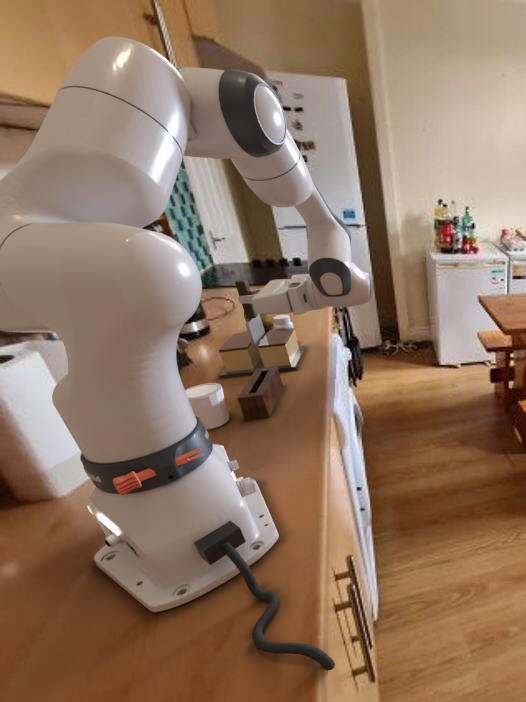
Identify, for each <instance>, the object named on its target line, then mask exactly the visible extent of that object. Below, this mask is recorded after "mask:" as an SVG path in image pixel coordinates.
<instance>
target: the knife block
mask: <svg viewBox="0 0 526 702" xmlns="http://www.w3.org/2000/svg"><path fill="white" fill-rule="evenodd" d="M280 373H281V372H280V371H279V370H278V367H271V368H263V369H256V370H255V372H254V373H253V375H250V377H249V379H248V380H247V382H246V384H245V386H244V387H243V389H242V390H241V391H240V393H239V395H238V396H237V398H236V399H237V403H238V405H239V407H240V410H241V413H242V416H243V418H244V421H251V420H256V419H265V418H269V417H270V416H271V415H272V412H273V411H274V409H275V405H276V403H277V402H278V399H279V397H280V396H281V393H282V390H283V388H284V384H283V381H282V377H281V374H280Z"/></svg>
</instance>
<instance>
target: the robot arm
mask: <svg viewBox="0 0 526 702" xmlns="http://www.w3.org/2000/svg"><path fill="white" fill-rule="evenodd" d="M184 157H192V158H204V159H213V160H228V159H230V160H231V162H232V164H233V165H234V166H235V168H236V170H237V171H238V173H239V175H240V176H241V177H242V179H243V180H244V182H245V183H246V184H247V187H248V188H249V189H250V190H251V191H252V192H253V193H254V194H255V195H256V196H257V198H258V199H259V200H261V202H262V203H264V204H266V205H269V206H272V207H275V208H292V207H294V208H295V209H296V210H297V212H298V213H299V215H300V216H301V218H302V219H303V221H304V222H305V227H306V229H305V231H306V232H305V233H306V240H307V241H306V242H307V272H308V273H300V274H299V273H298V274H293V275H291V278H281V279H280V278H277V279H271V280H269V282H268V283H266V284H265V285H264V286H263V287H260V288H256V289H252V290H250V291H251V294H252V295H240V296H239V295H238V297H237V299H238V301H239V304H240V305H242V304H247V303H248V304H253V307H254V310H255V312H256V313H258V314H271V315H287V314H291V313H292V314H293V315H294V316H295V315H296V316H299V315H303V314H305V313H307V312H311V311H312V312H313V311H318V310H324V309H326V308H337V309H339V308H341V309H342V308H349V307H355V306H356V307H357V306H361V305H364V304H367V303H369V302H370V300H371V298H372V281H371V276H370V274H369V273H368V272H365V271H363V270H362V269H360V268H359V267H358V266H357V265H356V264H355V262H354V261H353V259H352V258H353V257H352V248H351V247H352V233H351V230H350V229H349V227H348V226H347V224H346V223H344V222H343V221H342V220H341V218H339V216H337V215H336V214H335V213H334V212H333V211H332V210H331V208H330V207H329V205H328V203H327V202H326V200H325V198H324V196H323V195H322V194H321V192H320V190H319V188H318V186H317V185H316V183H315V181H314V179H313V178H312V176H311V173H310V171H309V168H308V166H307V164H306V162H305V159H304V157H303V155H302V153H301V151H300V150H299V148H298V146H297V144H296V142H295V140H294V138H293V137H292V135H291V133H290V132H289V130H288V125H287V119H286V114H285V111H284V108H283V105H282V102H281V101H280V99H279V97H278V95H277V94H276V92H275V91H274V89H273V88H272V87H271V86H270V85H268V83H267V82H265V81H264V80H263V79H262V78H261V77H260V76H259V75H257V74H255V73H252V72H250V71H245V70H242V69H236V68H227V69H225V70H223V69H217V68H216V69H215V68H208V67H190V66H184V65H183V66H174V65H173V64H172V62H170V61H169V60H168V59H167V58H166V57H165V56H164V55H162V54H161V53H159V52H158V51H156V50H155V49H154V48H152V47H150V46H149V45H146V44H145V43H143V42H140V41H138V40H135V39H132V38H129V37H124V36H107V37H106V36H105V37H102V38H100V39H99V40H97V41H95V42H94V43H93V44H92V45H91V46H90V47H89V48H87V49H86V50H85V52H83V54H82V55H81V56H80V57H78V59H77V61H76V62H75V63H74V64H73V65H72V67H71V68H70V70H69V71H68V73H67V74H66V76H65V77H64V79H63V80H62V82H61V84H60V86H59V88H58V90H57V92H56V94H55V96H54V99H53V101H52V103H51V105H50V107H49V109H48V111H47V112H46V115H45V116H44V119H43V121H42V123H41V125H40V127H39V129H38V130H37V133H36V135H35V137H34V139H33V141H32V143H31V145H30V146H29V147H28V149H27V151H26V152H25V153H24V155H23V156H22V157H21V159H20V160H19V161H18V162H17V163H16V164H15V165H14V166H13V167H12V168H11V169H10V170H9V171H8V172H7V173H6V174H5V175H4V176H3V177H2V178H1V179H0V331H1V332H7V333H48V334H49V333H55V334H56V335H57V336H58V337H59V338H60V339H61V341H62V343H63V346H64V349H65V354H66V359H67V373H66V375H64V376H63V377H62V378H61V379H60V380H59V381H58V382H57V383H56V385H55V386H54V388H53V391H52V394H51V400H52V405H53V407H54V409H55V410H56V411H57V414H58V415H59V416H60V418H61V420H62V421H63V424H64V425H65V427H66V428H67V430H68V432H69V433H70V435H71V437H72V438H73V440H74V442H75V443H76V445H77V447H78V449H79V450H80V452H81V453H80V455H79V456H80V458H79V459H80V462H81V464H82V468H83V470H84V473H85V474H86V475H87V476H88V477H89V479H90V480H91V482H92V484H93V485H94V486H95V488H94V490H93V492H92V493H91V495H90V496H89V497H88V500H87V501H86V505H87V508H88V510H89V512H90V513H91V514H92V515H93V517H94V519H95V520H96V522H97V524H98V525H99V527H100V529H101V530H102V531H103V533H104V535H105V538H104V543H105V545H104V546H103V547H101V548H100V549H99V550H98V551H96V553H95V554H94V556H93V561H94V563H95V565H96V567H98V568H99V569H100V570H101V571H102V572H103V573H105V574H106V575H107V576H108V577H109V578H111V579H112V580H113V581H114V582H115V583H116V584H117V585H118V586H120V587H121V588H122V589H123V590H125V592H127V593H128V594H129V595H130V596H131V597H133V598H134V599H135V600H136V601H137V602H139V603H140V605H142V606H144V608H146V609H147V610H149V611H150V612H151V613H159V612H163V611H167V610H170V609H173V608H176V607H179V606H182V605H184V604H186V603H189V602H191V601H193V600H196V599H197V598H199V597H201V596H203V595H205V594H207V593H209V592H211V591H212V590H214V589H216V588H218V587H219V586H221V585H223V584H224V583H227V582H228V581H229V580H231V579H232V578H234V577H236V576H237V575H238V574H240V575H241V576H242V578H243V580H244V582H245V584H246V586H247V588H248V590H249V592H250V593H251V595H252V596H253V597H255V598H256V599H259V600H261V601H267V602H268V606H267V607H266V609H265V610H264V612H263V613H262V614H261V615H260V617H259V618H258V619H257V621H256V623H255V624H254V626H253V629H252V631H251V632H252V633H251V638H252V641H253V643H254V645H255V646H256V647H257V649H259V650H261V651H262V652H264V653H269V654H277V655H278V654H284V655H286V654H289V655H299V656H300V655H301V656H304V657H308V658H310V659H312V660H313V661H315V662H317V663H318V664H319V665H320V666H321V667H322V668H323V669H324V670H326V671H332V670H333V669H334V668H335V666H336V663H335V661H334V660H333V658H332V657H331V656H330V655H328V654H327V653H326V652H325V651H324V650H322V649H320V648H318V647H316V646H314V645H312V644H307V643H301V642H278V641H277V642H276V641H272V640H269V639H267V638H265V636H264V633H263V630H264V628H265V626H266V625H267V624H268V622H269V621H270V619H271V618H272V617H273V615H274V614H275V612H276V611H277V608H278V606H279V602H280V601H279V596H278V595H277V593H275V592H273V591H269V590H264V589H263V588H262V587H261V586H260V585H259V584H258V582H257V580H256V578H255V575H254V573H253V571H252V569H251V568H250V566H252V565H253V564H254V563H255V562H257V561H258V560H260V559H261V558H262V557H263V556H264V555H266V553H268V551H270V550H271V548H272V547H273V546H274V545H275V544H276V543H277V541H278V540H279V538H280V535H279V532H278V529H277V527H276V524H275V521H274V519H273V517H272V515H271V512H270V510H269V508H268V505H267V503H266V501H265V499H264V496H263V494H262V492H261V489H260V486H259V485H258V483H257V481H256V480H255V478H254V479H253V478H251V476H248V477H247V476H246V477H244V476H239V477H237V476H236V474H235V472H234V471H237V470H239V469H240V465H239V462H238V461H237V459H233V460H231V461H230V460H229V457H228V455H227V454H228V453H227V451H226V449H225V446H224V445H223V444H222V445H221V444H219V443H218V444H217V443H213V442H212V440H211V438H210V435H209V432H208V429H206V427H205V426H204V425H203V424H202V422H201V420H200V418H199V417H197V416H195V415H194V412H193V410H192V407H191V405H190V402H189V400H188V397H187V394H186V392H185V390H186V388H185V386H184V384H183V381H182V378H181V376H180V371H179V367H178V360H177V347H178V340H179V336H180V333H181V330H182V328H183V327H184V325H185V324H186V323H187V322H188V321H189V320H190V318H192V317H193V316H194V314H195V313H196V311H197V309H198V307H199V306H200V303H201V299H202V294H203V281H202V277H201V273H200V271H199V268H198V266H197V263H196V261H194V258H193V257H192V256H191V254H190V253H189V252H188V251H187V250H186V248H185V247H184V246H183V245H182V244H181V243H179V242H178V241H177V240H176V239H174V238H173V237H171V236H169V235H167V234H164V233H162V232H158V231H155V230H149V229H146V228H145V227H147V226H149V225H151V224H153V223H154V222H155V221H156V220H158V219H159V218H161V216H162V215H163V214H164V213H165V211H166V209H167V208H168V204H169V201H170V198H171V195H172V192H173V189H174V185H175V183H176V180H177V176H178V174H179V171H180V169H181V165H182V162H183V158H184Z"/></svg>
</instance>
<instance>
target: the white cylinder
mask: <svg viewBox="0 0 526 702" xmlns="http://www.w3.org/2000/svg"><path fill="white" fill-rule="evenodd" d="M185 392H186V394H187V397H188V400H189V402H190V405H191V407H192V410H193V412H194V415H195V416H197V417H199V418H200V420H201V422H202V424H203V425H204V426H205V427H206V429H207V430H212V429H216V428H218V427H221V426H223V425H224V424H227V422H228V421H229V420H230V414H229V410H228V407H227V402H226V398H225V395H224V389H223V386H222V385H221V384H220V383H216V382H207V383H206V382H205V383H200V384H197V385H194V386H191V387H188V388H185Z"/></svg>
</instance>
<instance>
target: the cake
mask: <svg viewBox="0 0 526 702" xmlns="http://www.w3.org/2000/svg"><path fill="white" fill-rule="evenodd" d="M294 330H295V327H294V328H288V329H278V330H275V329H272V330H269V331H268V333H265V335H264V336H263V337H262V339H261V340H260V341H259V343H258V344H257V346H256V347H253V345H252V342H251V339H250V336H249V333H248V331H247V332H238V333H237V332H236V333H233V334H232V335H231V336H230V337H229V338H228V339H227V341H225V343H223V345H222V346H221V347H219V349H218V353H219V356H220V358H221V361H222V365H223V367H224V368H223V369H222V370H221V372H220V373H219V374H218V376H217V377H218V378H219V379H228V378H236V377H245V376H252V375H253V373H254V372H255V370H256V369H263V368H271V367H278V370H279V372H287V371H296V370H297V369H298V367H299V364H300V362H301V360H302V357H303V356H304V353H305V351H306V345H299V343H298V338H297V335H295V334H296V331H294ZM296 338H297V339H296Z"/></svg>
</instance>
